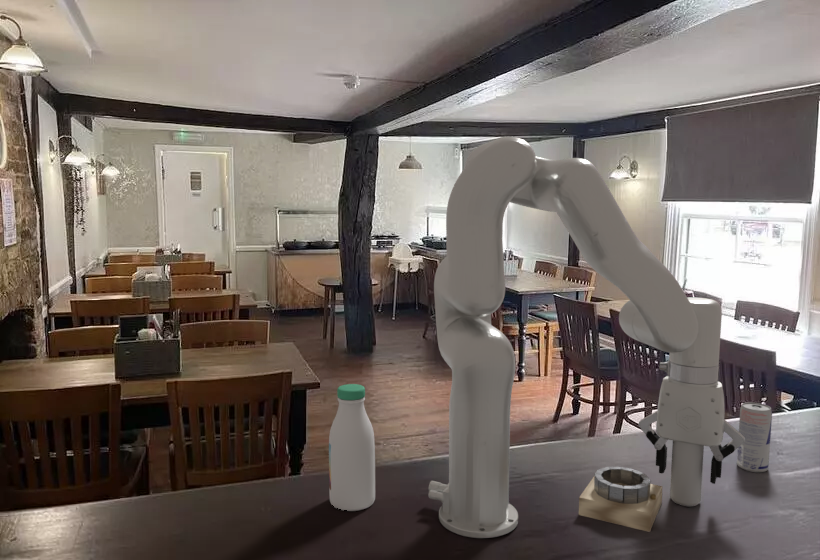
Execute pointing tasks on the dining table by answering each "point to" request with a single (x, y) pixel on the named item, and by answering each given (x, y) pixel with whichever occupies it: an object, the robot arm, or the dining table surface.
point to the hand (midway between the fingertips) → (687, 474)
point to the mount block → (621, 508)
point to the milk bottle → (351, 452)
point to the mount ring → (620, 493)
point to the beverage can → (686, 473)
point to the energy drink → (754, 437)
